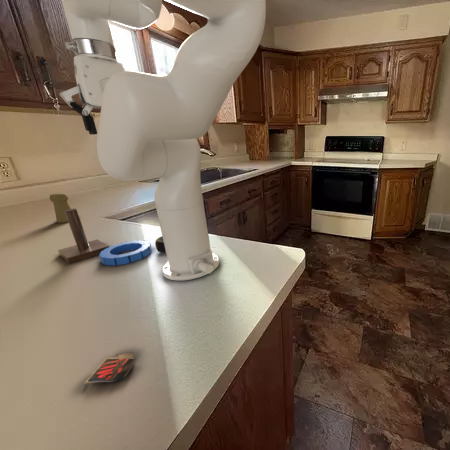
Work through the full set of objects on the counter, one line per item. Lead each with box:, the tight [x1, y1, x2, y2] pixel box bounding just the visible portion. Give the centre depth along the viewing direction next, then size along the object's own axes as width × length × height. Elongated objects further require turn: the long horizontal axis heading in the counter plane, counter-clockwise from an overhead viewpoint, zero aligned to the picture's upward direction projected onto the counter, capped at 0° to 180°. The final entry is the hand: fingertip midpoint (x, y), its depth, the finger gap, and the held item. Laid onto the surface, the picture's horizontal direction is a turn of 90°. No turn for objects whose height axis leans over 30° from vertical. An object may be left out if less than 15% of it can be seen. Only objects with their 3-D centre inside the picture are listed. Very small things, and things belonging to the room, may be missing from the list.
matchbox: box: [83, 352, 136, 387], centre depth 33 cm, size 5×5×1 cm
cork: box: [49, 192, 73, 224], centre depth 96 cm, size 6×6×11 cm
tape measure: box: [154, 235, 166, 254], centre depth 68 cm, size 7×7×4 cm
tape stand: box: [57, 208, 110, 264], centre depth 66 cm, size 9×9×12 cm
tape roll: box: [98, 239, 153, 266], centre depth 66 cm, size 11×11×2 cm
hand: (117, 134), depth 61 cm, fingers open, 9 cm apart
